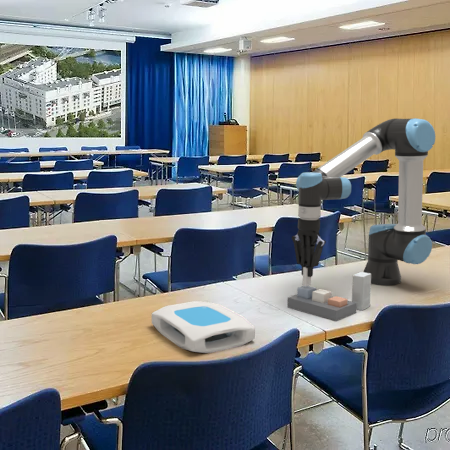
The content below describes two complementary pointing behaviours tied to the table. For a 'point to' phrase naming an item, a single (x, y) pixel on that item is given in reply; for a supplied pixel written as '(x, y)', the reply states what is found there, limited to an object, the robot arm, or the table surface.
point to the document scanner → (202, 326)
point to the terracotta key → (337, 301)
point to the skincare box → (361, 290)
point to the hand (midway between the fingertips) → (306, 285)
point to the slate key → (305, 292)
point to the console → (321, 308)
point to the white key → (321, 295)
